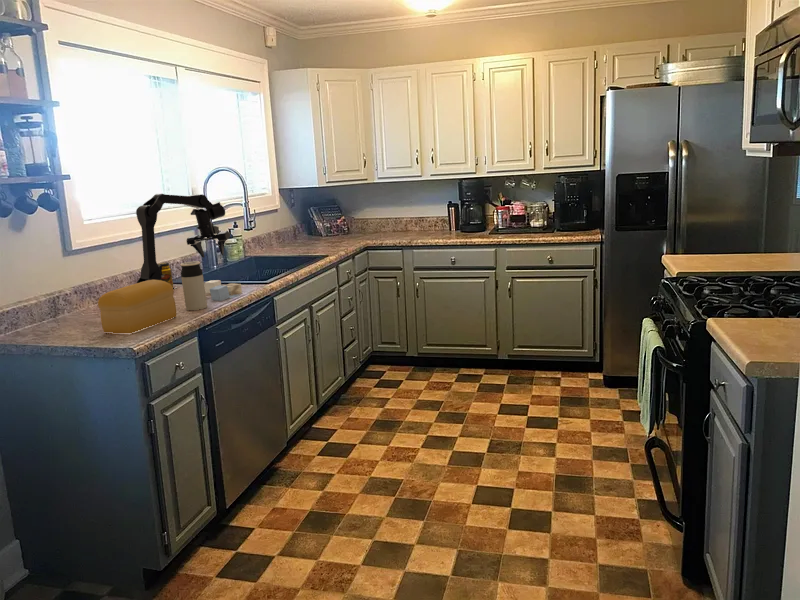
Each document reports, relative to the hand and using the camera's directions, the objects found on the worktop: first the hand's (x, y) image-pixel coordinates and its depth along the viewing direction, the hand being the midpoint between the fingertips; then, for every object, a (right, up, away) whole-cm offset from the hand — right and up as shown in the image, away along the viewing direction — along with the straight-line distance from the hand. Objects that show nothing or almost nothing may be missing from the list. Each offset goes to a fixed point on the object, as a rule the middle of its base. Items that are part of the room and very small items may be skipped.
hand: (213, 256), depth 301 cm
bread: (-8, -29, -62) cm, 68 cm away
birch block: (+13, -17, -19) cm, 29 cm away
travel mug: (+5, -23, -41) cm, 48 cm away
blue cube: (+11, -19, -27) cm, 35 cm away
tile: (+14, -18, -24) cm, 33 cm away
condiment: (-23, -15, +6) cm, 28 cm away
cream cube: (+3, -17, -11) cm, 20 cm away
